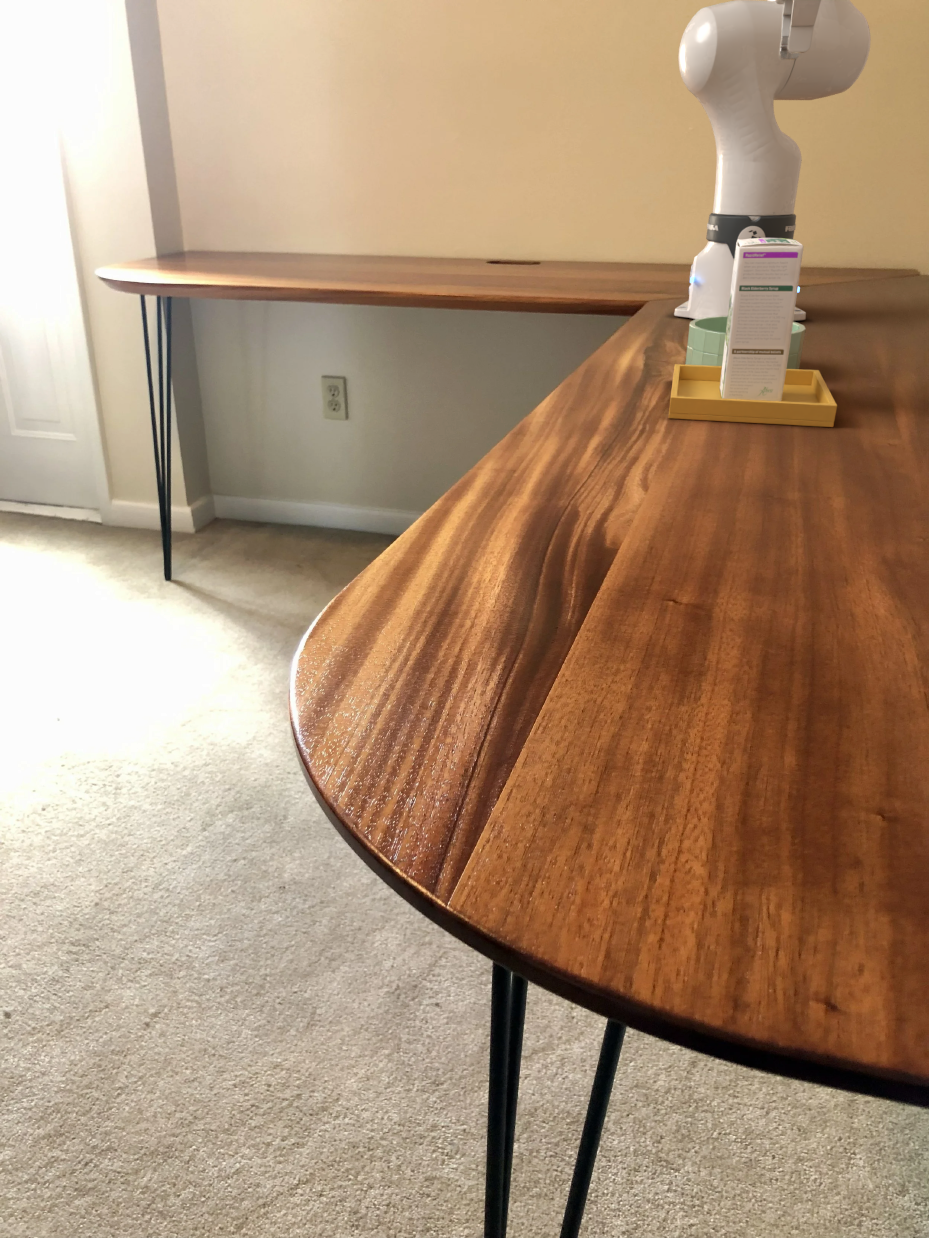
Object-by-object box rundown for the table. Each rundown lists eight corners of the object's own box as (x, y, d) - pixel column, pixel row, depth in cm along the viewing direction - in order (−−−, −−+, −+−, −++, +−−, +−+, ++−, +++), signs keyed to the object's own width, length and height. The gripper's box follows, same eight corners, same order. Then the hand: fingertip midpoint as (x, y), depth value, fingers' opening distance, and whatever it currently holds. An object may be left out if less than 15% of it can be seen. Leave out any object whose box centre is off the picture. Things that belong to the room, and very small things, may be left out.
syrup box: (782, 406, 85) (808, 243, 78) (719, 403, 86) (739, 242, 79) (776, 392, 90) (800, 237, 83) (716, 389, 91) (735, 236, 84)
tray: (672, 382, 96) (674, 364, 95) (815, 389, 93) (819, 370, 92) (668, 418, 83) (670, 397, 82) (833, 427, 80) (837, 405, 79)
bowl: (685, 357, 108) (690, 314, 105) (792, 361, 105) (799, 317, 103) (683, 380, 97) (689, 333, 95) (802, 385, 94) (810, 337, 92)
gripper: (774, -116, 80) (750, 63, 87) (793, -183, 63) (761, 49, 69) (848, -120, 79) (818, 62, 86) (888, -189, 61) (846, 47, 68)
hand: (792, 56), depth 77 cm, fingers open, 8 cm apart
